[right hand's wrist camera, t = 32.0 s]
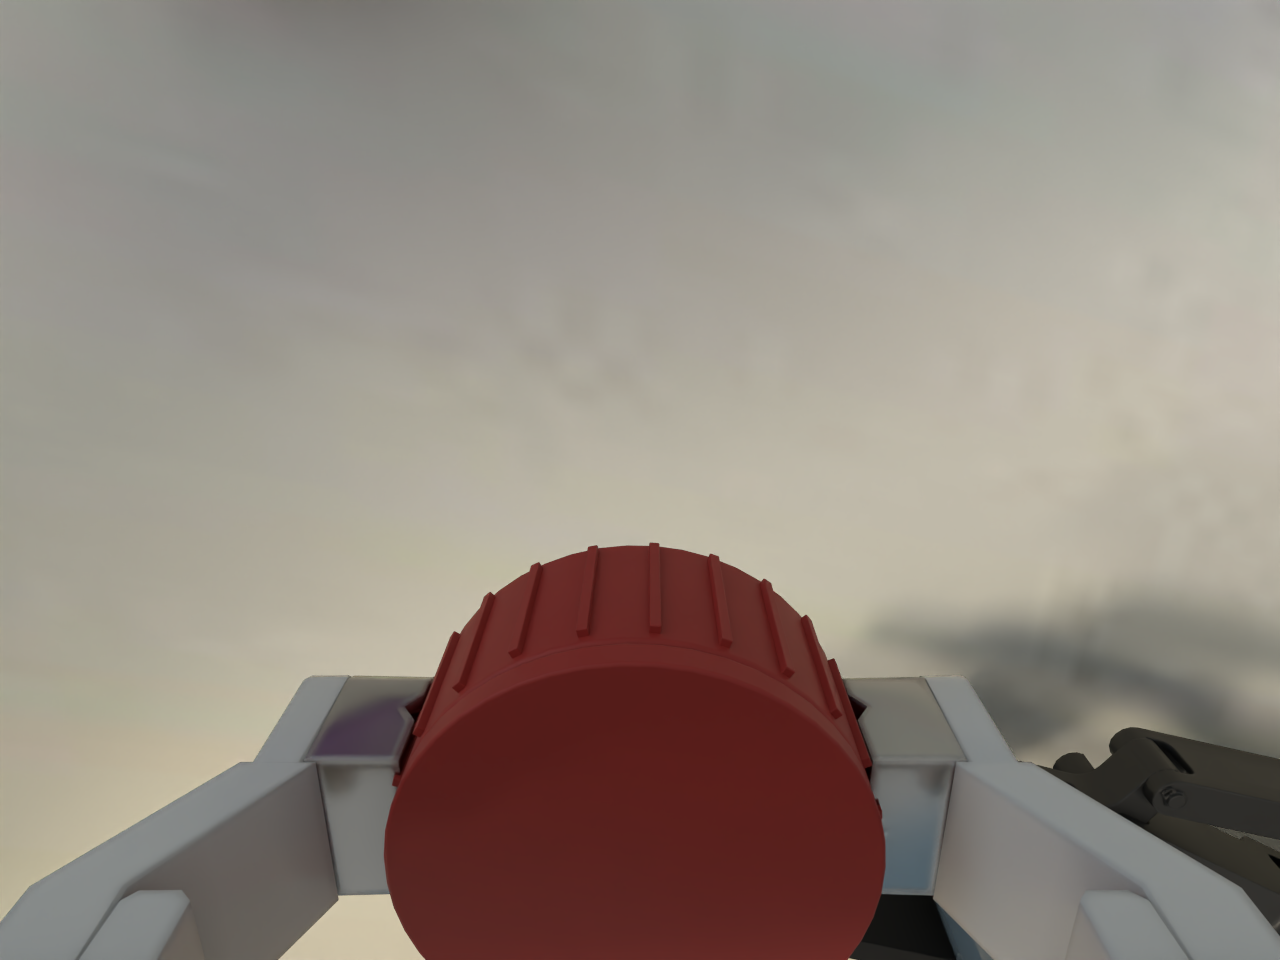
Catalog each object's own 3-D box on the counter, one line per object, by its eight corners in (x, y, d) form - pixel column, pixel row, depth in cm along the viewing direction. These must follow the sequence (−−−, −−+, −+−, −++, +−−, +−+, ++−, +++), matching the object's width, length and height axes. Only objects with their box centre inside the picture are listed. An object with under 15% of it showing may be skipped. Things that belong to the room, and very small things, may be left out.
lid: (779, 906, 12) (810, 1087, 10) (409, 842, 11) (350, 1014, 9) (898, 584, 10) (970, 715, 8) (462, 498, 10) (405, 608, 7)
